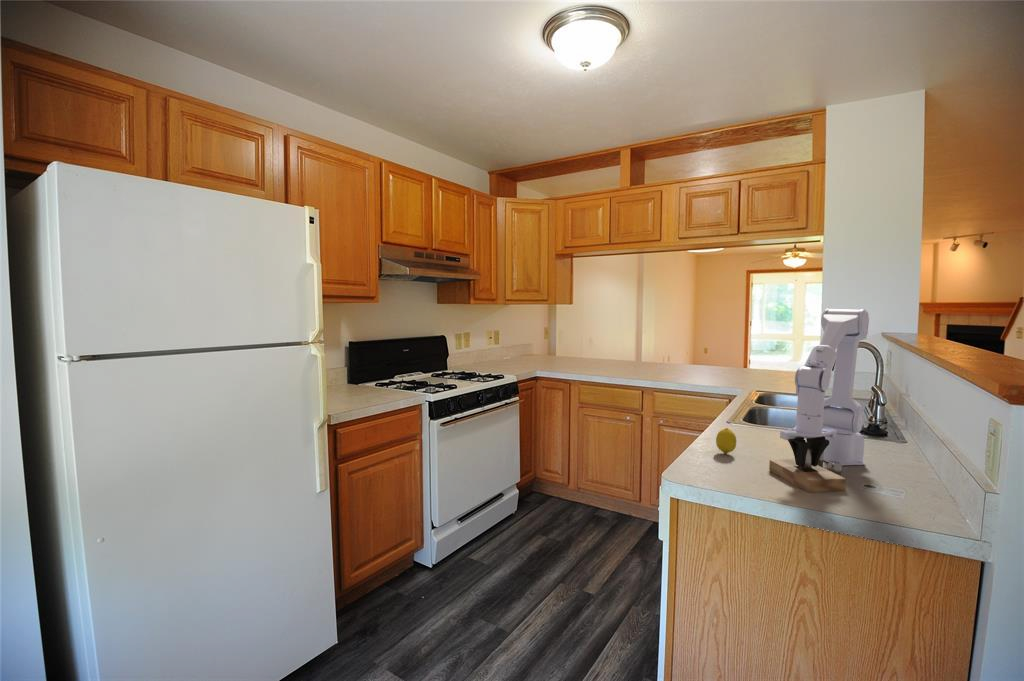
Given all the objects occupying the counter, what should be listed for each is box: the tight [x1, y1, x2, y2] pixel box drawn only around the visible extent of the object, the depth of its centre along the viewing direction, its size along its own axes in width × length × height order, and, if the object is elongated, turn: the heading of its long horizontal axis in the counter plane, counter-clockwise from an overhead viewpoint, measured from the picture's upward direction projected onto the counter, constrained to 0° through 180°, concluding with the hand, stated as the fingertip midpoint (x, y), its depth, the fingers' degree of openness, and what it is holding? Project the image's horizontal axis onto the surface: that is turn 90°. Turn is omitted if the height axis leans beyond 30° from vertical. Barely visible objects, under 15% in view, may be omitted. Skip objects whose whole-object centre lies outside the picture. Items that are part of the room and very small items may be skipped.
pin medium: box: [817, 451, 824, 468], centre depth 128 cm, size 3×3×5 cm
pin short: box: [827, 461, 843, 476], centre depth 122 cm, size 3×3×4 cm
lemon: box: [715, 427, 737, 455], centre depth 138 cm, size 6×6×8 cm
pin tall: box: [798, 447, 813, 472], centre depth 119 cm, size 3×3×7 cm
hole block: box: [768, 458, 847, 493], centre depth 119 cm, size 10×14×3 cm
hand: (806, 465), depth 119 cm, fingers closed on pin tall, 3 cm apart
